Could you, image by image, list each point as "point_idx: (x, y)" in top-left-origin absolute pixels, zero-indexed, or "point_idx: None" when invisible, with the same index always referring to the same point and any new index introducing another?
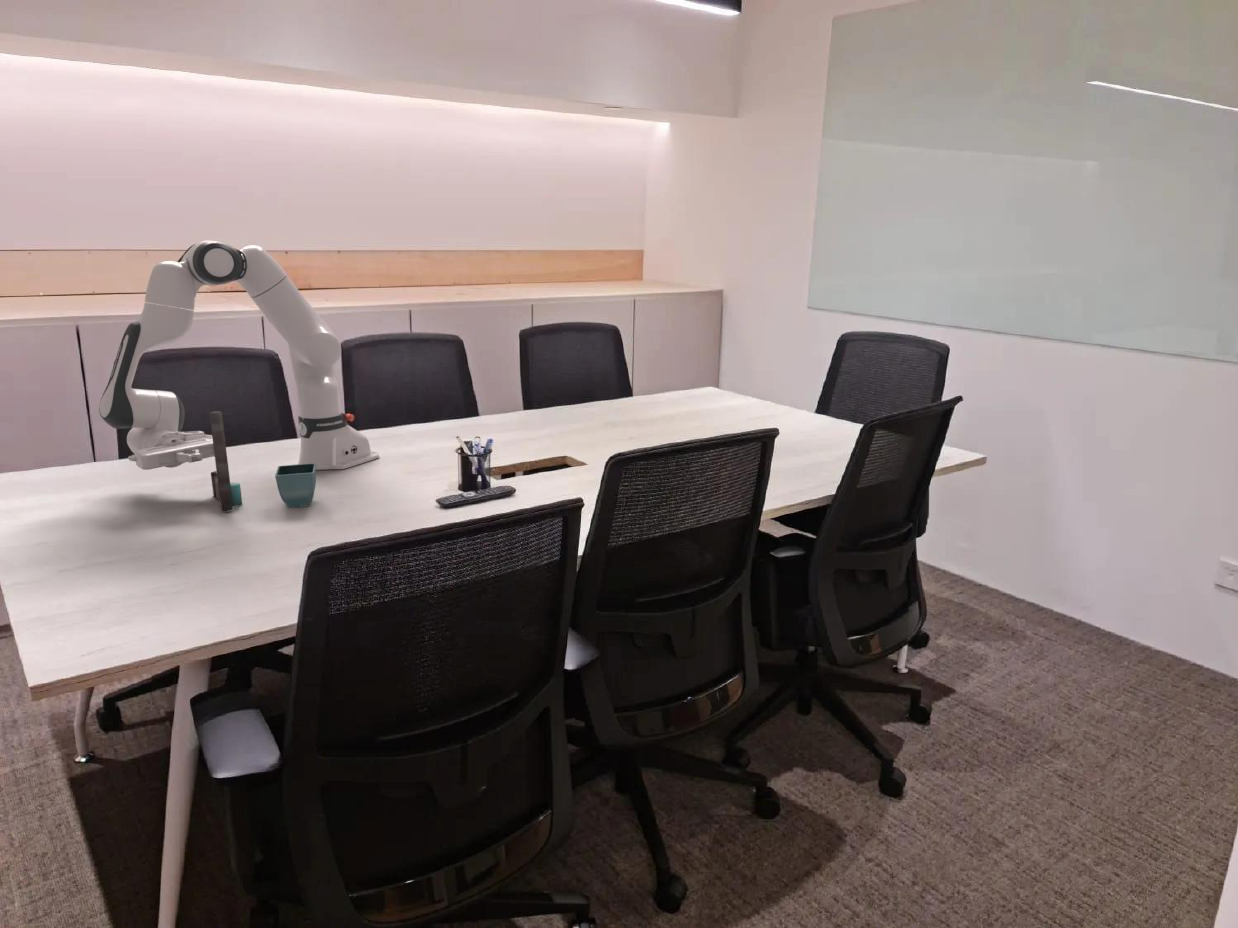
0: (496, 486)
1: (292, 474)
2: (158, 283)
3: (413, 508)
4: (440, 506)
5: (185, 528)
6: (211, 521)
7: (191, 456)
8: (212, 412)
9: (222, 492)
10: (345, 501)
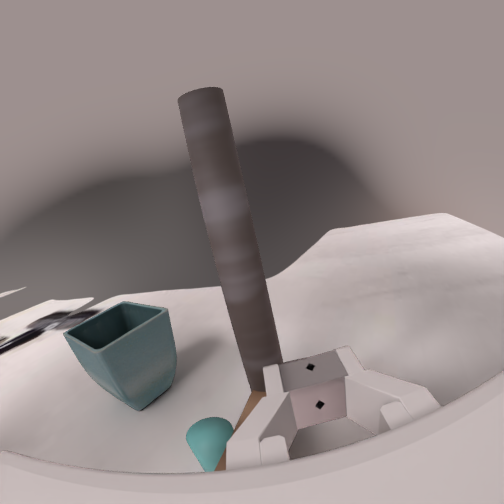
0: (28, 329)
1: (146, 305)
2: None
3: None
4: (93, 315)
5: (397, 363)
6: None
7: (334, 351)
8: (205, 90)
9: None
10: None
